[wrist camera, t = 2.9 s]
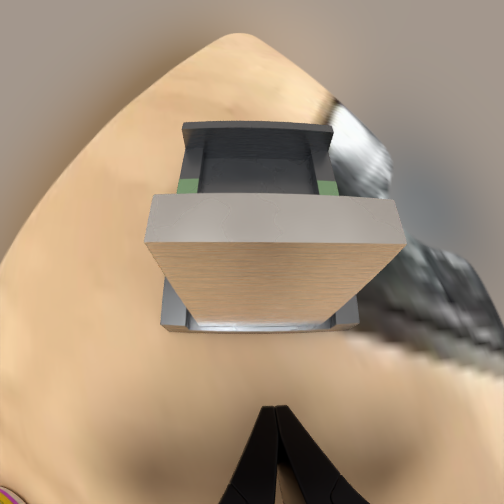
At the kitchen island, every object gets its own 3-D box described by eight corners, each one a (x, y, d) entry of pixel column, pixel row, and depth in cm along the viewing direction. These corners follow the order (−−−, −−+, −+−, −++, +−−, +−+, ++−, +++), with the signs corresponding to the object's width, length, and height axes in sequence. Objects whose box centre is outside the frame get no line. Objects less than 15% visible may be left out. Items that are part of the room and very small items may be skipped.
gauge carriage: (356, 322, 16) (461, 245, 7) (160, 324, 16) (71, 242, 7) (348, 258, 18) (421, 147, 9) (167, 258, 18) (110, 137, 9)
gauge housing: (347, 330, 17) (373, 313, 13) (169, 331, 16) (149, 315, 13) (321, 161, 23) (331, 125, 19) (190, 159, 23) (183, 122, 19)
